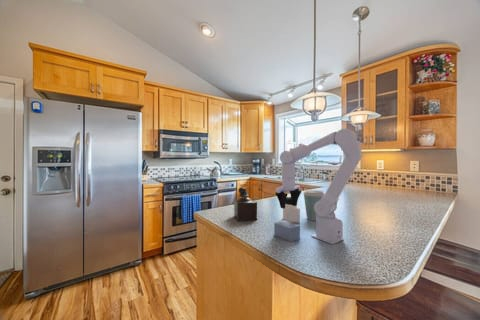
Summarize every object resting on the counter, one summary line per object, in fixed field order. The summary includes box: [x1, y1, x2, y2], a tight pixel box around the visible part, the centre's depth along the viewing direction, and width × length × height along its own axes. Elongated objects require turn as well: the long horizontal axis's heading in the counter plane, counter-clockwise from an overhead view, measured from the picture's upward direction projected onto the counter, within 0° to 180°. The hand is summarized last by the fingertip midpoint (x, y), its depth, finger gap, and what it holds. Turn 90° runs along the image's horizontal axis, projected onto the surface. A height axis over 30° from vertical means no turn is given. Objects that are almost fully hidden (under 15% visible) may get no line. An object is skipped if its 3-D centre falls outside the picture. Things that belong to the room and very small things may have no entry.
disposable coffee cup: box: [303, 189, 325, 221], centre depth 107 cm, size 11×11×15 cm
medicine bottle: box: [282, 196, 301, 223], centre depth 104 cm, size 7×7×12 cm
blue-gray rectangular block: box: [273, 219, 301, 243], centre depth 83 cm, size 9×6×5 cm
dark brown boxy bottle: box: [233, 186, 258, 222], centre depth 106 cm, size 16×11×18 cm
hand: (288, 206), depth 93 cm, fingers open, 7 cm apart
